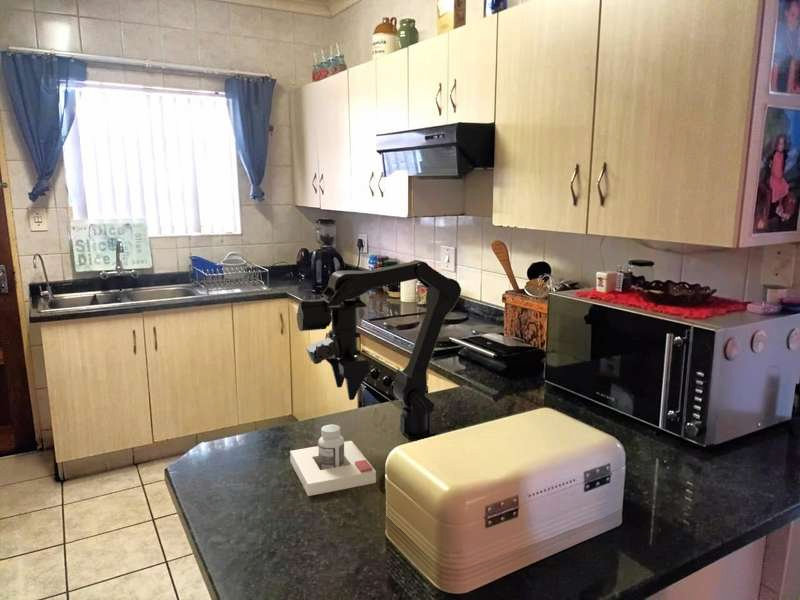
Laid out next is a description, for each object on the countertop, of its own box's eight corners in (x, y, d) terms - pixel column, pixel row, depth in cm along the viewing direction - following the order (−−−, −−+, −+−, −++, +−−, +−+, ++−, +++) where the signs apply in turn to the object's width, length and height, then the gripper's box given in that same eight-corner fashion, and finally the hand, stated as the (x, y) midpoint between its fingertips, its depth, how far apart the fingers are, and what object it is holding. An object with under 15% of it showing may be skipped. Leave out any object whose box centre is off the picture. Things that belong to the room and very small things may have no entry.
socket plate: (351, 450, 133) (351, 438, 132) (375, 482, 118) (375, 468, 118) (290, 461, 127) (290, 448, 127) (308, 496, 113) (307, 481, 112)
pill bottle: (335, 463, 127) (334, 421, 125) (349, 472, 122) (349, 428, 121) (314, 470, 123) (313, 427, 121) (327, 480, 119) (326, 435, 117)
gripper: (299, 321, 137) (301, 385, 139) (320, 340, 120) (322, 412, 122) (345, 318, 141) (345, 379, 144) (371, 335, 124) (371, 404, 127)
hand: (345, 393), depth 134 cm, fingers open, 9 cm apart
